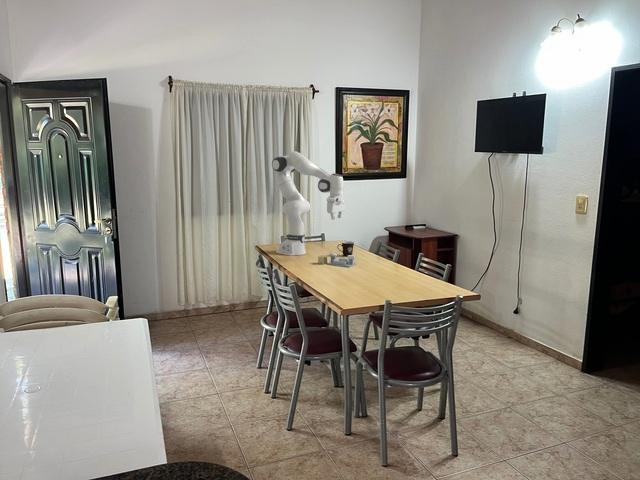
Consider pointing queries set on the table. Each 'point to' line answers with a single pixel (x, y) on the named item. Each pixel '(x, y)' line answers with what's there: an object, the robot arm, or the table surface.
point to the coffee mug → (347, 248)
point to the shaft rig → (342, 261)
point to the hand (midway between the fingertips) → (336, 218)
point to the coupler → (322, 260)
